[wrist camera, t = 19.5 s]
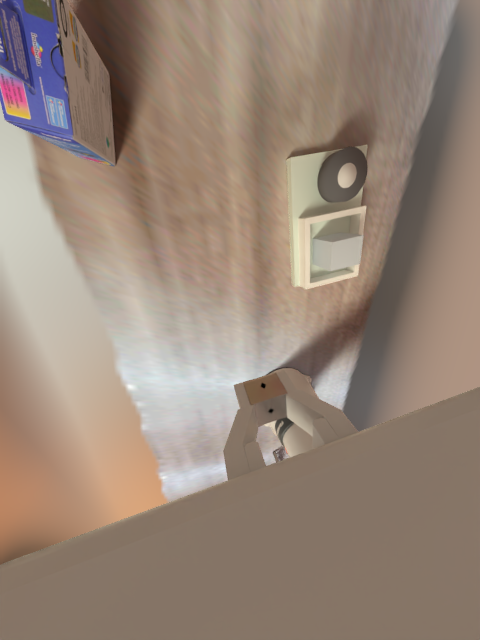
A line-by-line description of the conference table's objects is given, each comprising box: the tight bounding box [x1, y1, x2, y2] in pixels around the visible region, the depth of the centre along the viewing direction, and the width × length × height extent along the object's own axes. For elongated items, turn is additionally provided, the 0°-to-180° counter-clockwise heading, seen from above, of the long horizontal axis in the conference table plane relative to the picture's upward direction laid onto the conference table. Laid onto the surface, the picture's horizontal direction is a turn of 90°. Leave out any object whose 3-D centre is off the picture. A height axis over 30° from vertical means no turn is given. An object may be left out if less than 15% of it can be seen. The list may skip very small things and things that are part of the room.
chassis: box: [287, 145, 368, 289], centre depth 38 cm, size 22×14×4 cm, turn 10°
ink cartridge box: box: [0, 0, 115, 166], centre depth 20 cm, size 10×6×14 cm, turn 170°
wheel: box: [317, 147, 367, 203], centre depth 33 cm, size 7×7×3 cm
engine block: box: [312, 232, 364, 271], centre depth 38 cm, size 5×6×6 cm
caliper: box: [273, 452, 279, 462], centre depth 76 cm, size 20×1×6 cm, turn 15°
